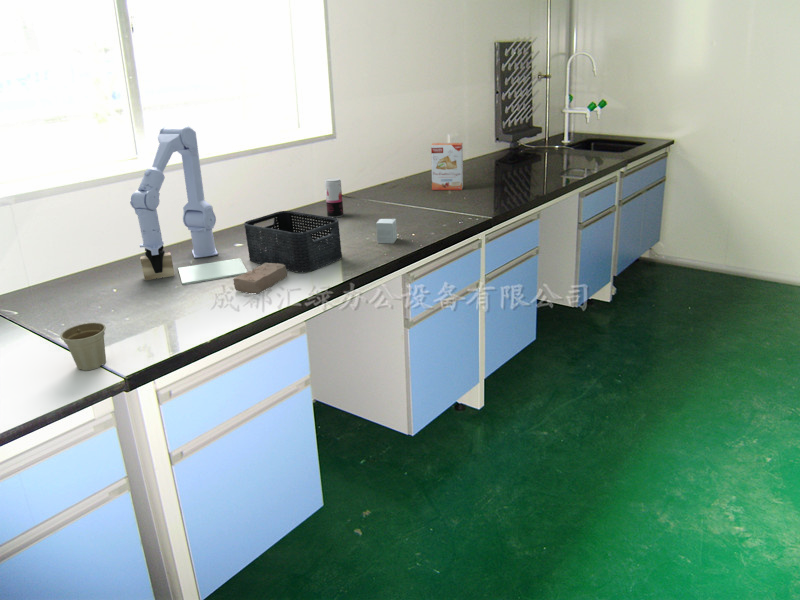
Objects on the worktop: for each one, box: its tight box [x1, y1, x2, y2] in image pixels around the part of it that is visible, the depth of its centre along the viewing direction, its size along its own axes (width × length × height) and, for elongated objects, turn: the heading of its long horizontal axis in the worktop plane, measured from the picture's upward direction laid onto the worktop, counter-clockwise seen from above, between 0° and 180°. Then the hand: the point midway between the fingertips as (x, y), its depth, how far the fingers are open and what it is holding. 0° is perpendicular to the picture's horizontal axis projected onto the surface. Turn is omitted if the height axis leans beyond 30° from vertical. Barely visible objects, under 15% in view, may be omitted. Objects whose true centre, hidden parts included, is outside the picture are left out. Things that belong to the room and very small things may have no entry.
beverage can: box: [324, 177, 344, 218], centre depth 266 cm, size 6×7×15 cm
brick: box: [232, 263, 288, 295], centre depth 196 cm, size 17×8×5 cm, turn 156°
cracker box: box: [430, 142, 464, 191], centre depth 301 cm, size 14×6×21 cm, turn 81°
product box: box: [375, 218, 398, 244], centre depth 231 cm, size 6×6×7 cm
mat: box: [177, 257, 249, 285], centre depth 209 cm, size 16×20×1 cm
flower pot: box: [60, 322, 107, 371], centre depth 150 cm, size 9×9×9 cm
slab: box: [139, 252, 176, 281], centre depth 207 cm, size 3×9×7 cm, turn 112°
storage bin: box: [243, 210, 343, 274], centre depth 215 cm, size 29×19×13 cm
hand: (158, 270), depth 207 cm, fingers open, 3 cm apart
